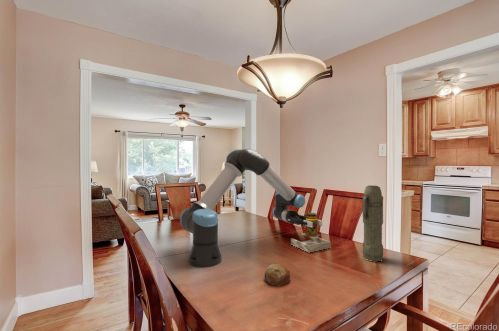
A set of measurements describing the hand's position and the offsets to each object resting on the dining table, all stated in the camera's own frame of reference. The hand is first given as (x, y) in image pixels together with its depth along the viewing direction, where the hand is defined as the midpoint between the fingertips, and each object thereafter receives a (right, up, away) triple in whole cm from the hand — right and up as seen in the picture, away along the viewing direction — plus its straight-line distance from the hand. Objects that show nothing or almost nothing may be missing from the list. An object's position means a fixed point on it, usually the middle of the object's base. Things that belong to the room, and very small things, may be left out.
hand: (316, 224), depth 137 cm
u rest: (-2, -13, +5) cm, 14 cm away
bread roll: (-25, -14, -35) cm, 45 cm away
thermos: (+23, -14, -13) cm, 30 cm away
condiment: (-2, -7, +5) cm, 9 cm away
